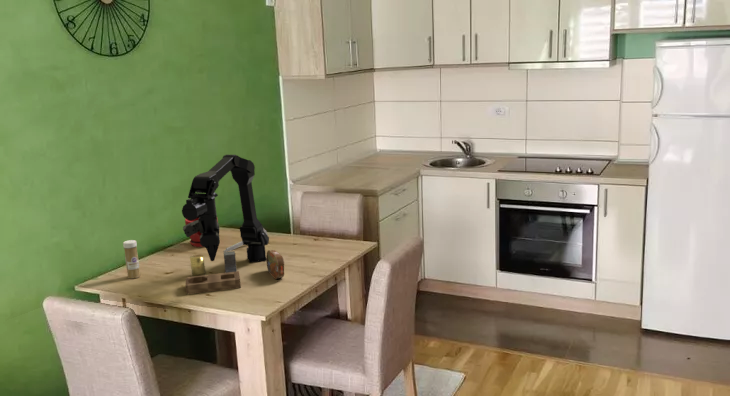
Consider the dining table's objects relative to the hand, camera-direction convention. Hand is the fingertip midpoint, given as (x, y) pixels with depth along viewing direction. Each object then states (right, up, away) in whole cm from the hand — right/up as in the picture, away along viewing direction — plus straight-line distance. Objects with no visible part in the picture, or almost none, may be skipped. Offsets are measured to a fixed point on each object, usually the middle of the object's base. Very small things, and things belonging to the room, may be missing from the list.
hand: (212, 256), depth 232 cm
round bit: (-8, -8, +15) cm, 19 cm away
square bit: (+3, -7, +17) cm, 19 cm away
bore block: (0, -10, +2) cm, 11 cm away
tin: (+20, -8, +11) cm, 24 cm away
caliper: (+3, 0, +48) cm, 48 cm away
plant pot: (-16, 0, +54) cm, 56 cm away
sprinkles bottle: (-32, -9, +16) cm, 37 cm away
